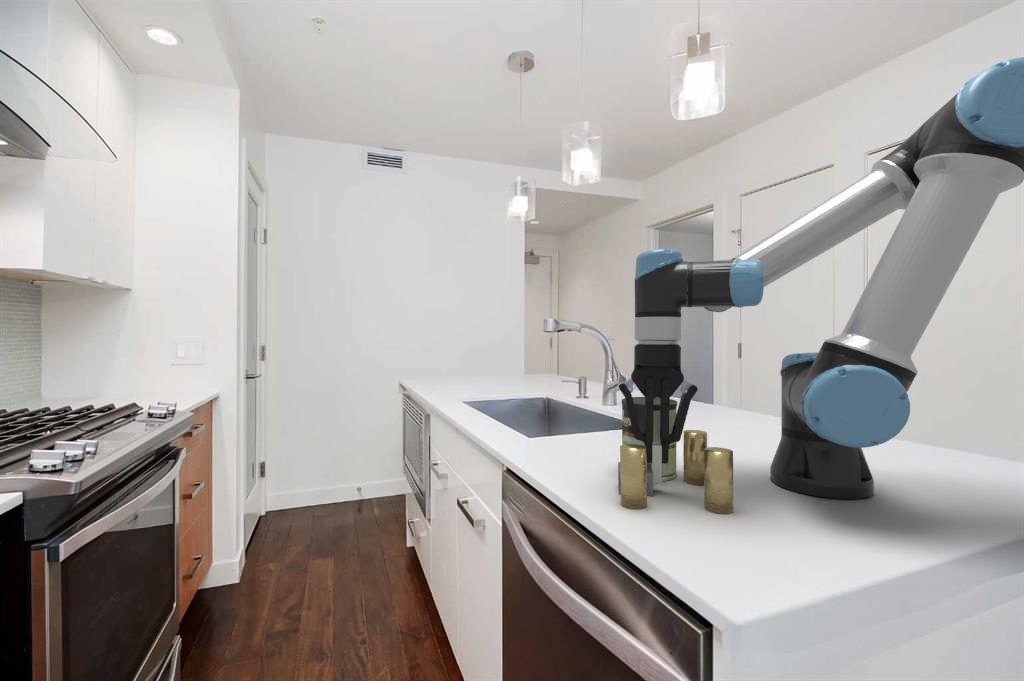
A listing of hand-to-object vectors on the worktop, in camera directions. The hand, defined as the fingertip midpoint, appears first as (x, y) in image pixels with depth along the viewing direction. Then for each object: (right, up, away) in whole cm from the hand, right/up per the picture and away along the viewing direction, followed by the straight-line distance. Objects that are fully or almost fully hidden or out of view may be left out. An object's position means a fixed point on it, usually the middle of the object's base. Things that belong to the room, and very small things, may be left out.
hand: (656, 481), depth 79 cm
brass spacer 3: (+7, -2, -8) cm, 11 cm away
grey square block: (-3, -2, +1) cm, 4 cm away
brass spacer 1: (-5, -2, -6) cm, 8 cm away
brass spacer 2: (+9, -2, +5) cm, 10 cm away
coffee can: (+2, -2, +11) cm, 11 cm away
